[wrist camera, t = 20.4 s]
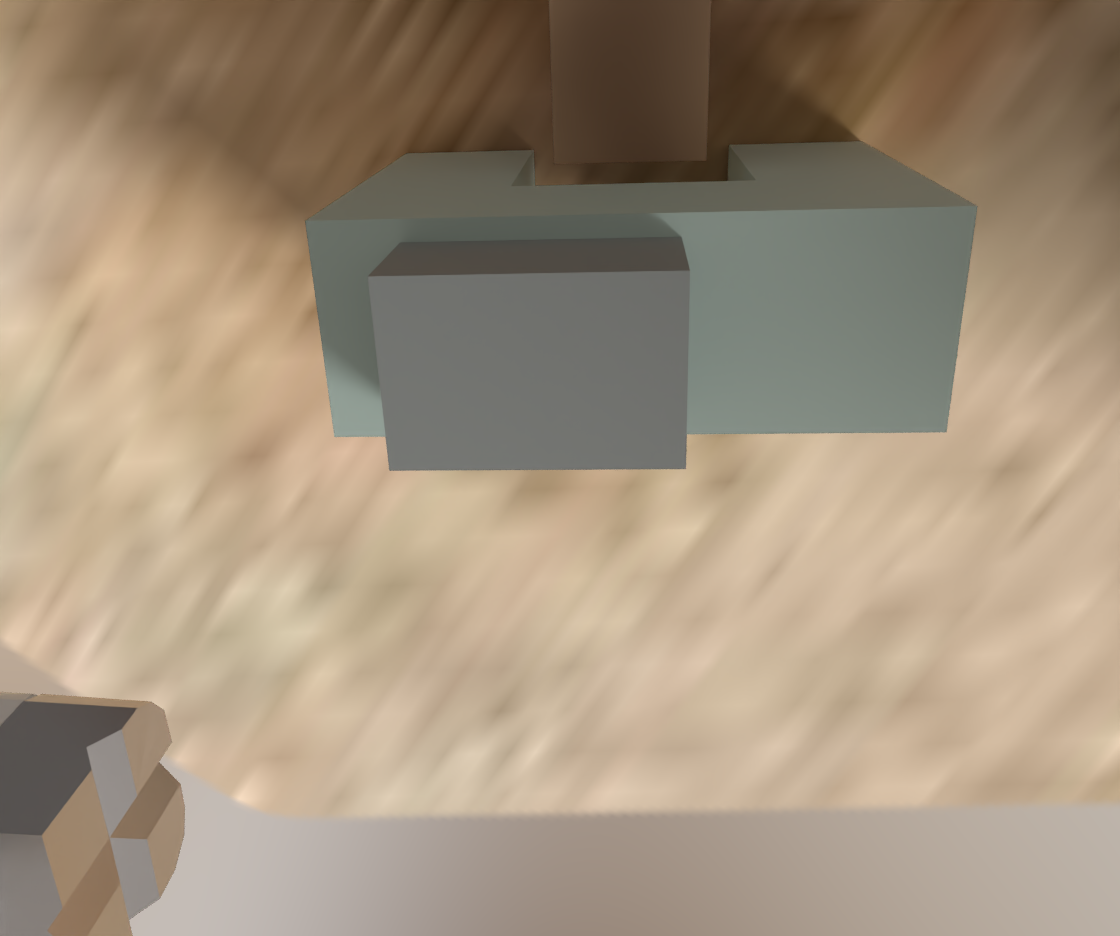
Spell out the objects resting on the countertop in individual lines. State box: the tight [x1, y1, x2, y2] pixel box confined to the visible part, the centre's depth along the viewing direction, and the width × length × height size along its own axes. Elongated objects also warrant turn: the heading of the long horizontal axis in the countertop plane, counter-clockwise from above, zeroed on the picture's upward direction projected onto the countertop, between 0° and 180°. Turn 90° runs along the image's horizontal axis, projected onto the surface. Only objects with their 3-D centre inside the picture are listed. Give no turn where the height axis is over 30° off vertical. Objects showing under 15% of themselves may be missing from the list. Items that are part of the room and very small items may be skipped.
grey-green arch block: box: [305, 141, 977, 471], centre depth 26 cm, size 14×5×14 cm, turn 92°
